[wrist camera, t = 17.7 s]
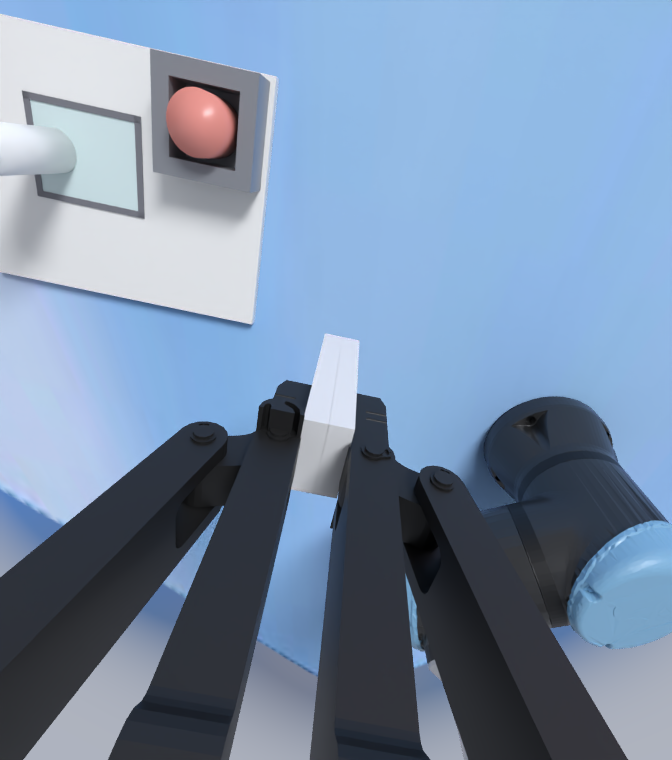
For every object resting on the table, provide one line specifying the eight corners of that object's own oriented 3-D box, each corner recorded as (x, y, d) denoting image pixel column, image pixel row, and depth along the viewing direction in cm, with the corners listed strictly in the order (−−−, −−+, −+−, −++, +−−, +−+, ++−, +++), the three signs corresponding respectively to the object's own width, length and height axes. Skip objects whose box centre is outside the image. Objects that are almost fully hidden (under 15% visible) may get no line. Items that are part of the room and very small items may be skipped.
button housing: (260, 190, 40) (249, 192, 37) (171, 171, 40) (152, 171, 37) (270, 82, 36) (259, 73, 33) (171, 59, 36) (149, 48, 32)
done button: (238, 163, 38) (224, 163, 34) (186, 152, 38) (166, 151, 34) (242, 101, 36) (227, 94, 32) (187, 89, 36) (165, 80, 32)
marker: (80, 177, 41) (-22, 183, 30) (40, 170, 41) (-76, 174, 30) (73, 129, 39) (-40, 118, 28) (31, 122, 39) (-98, 108, 28)
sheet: (254, 321, 48) (251, 324, 47) (4, 268, 48) (-5, 271, 46) (279, 79, 37) (276, 76, 36) (-50, 4, 36) (-64, -1, 35)
